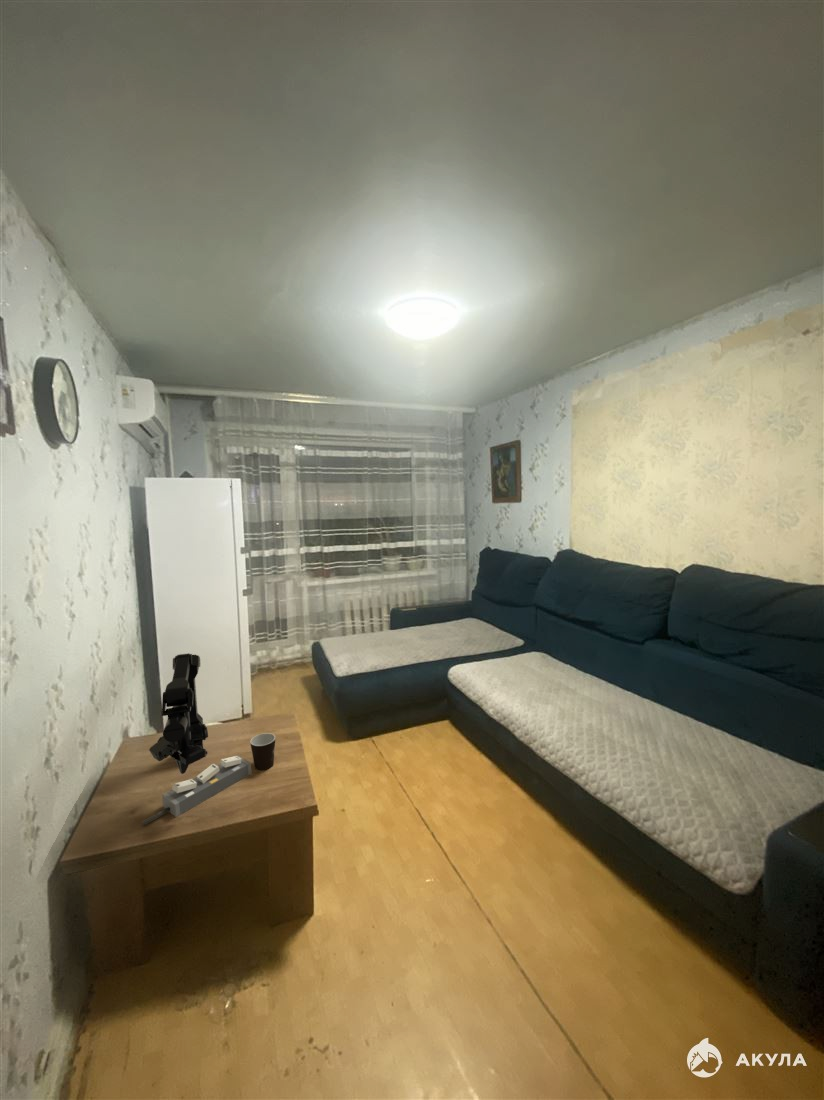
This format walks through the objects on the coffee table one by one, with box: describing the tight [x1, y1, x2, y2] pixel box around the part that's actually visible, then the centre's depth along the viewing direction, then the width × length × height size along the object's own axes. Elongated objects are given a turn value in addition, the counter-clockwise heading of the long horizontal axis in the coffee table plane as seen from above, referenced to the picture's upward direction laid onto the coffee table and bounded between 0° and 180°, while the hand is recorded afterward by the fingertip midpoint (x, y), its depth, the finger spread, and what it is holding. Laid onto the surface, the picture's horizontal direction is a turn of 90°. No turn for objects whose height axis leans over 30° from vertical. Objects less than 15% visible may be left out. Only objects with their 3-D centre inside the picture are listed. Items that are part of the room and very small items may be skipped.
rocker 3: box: [219, 755, 242, 767], centre depth 152 cm, size 3×6×2 cm, turn 144°
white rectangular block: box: [171, 778, 197, 793], centre depth 139 cm, size 3×6×2 cm, turn 144°
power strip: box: [141, 754, 252, 826], centre depth 143 cm, size 8×34×4 cm, turn 144°
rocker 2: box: [196, 763, 220, 784], centre depth 146 cm, size 3×6×2 cm, turn 144°
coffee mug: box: [249, 732, 276, 772], centre depth 160 cm, size 12×9×10 cm
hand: (183, 773), depth 139 cm, fingers closed
